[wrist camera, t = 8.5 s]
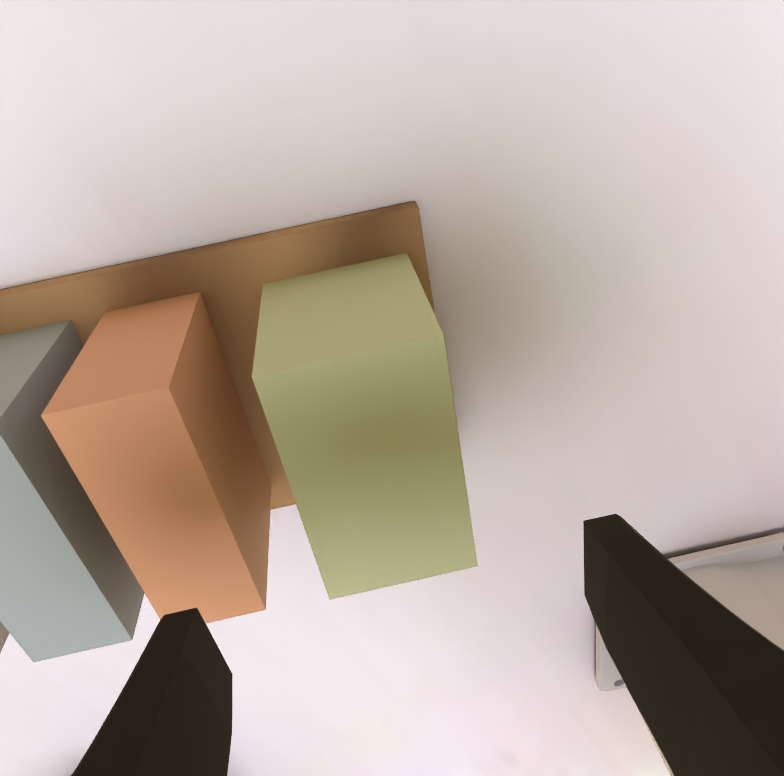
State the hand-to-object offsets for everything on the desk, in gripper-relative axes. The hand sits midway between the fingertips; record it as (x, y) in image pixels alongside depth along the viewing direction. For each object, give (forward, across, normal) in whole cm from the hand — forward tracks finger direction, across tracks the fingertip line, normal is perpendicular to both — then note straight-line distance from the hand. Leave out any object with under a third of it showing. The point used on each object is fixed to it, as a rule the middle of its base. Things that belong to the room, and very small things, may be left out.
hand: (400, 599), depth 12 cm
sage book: (+8, 0, 0) cm, 9 cm away
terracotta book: (+8, +5, 0) cm, 10 cm away
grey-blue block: (+8, +8, 0) cm, 12 cm away
